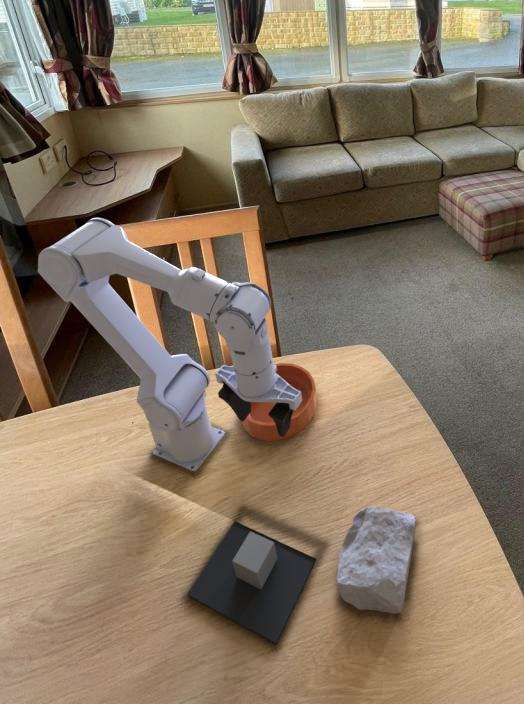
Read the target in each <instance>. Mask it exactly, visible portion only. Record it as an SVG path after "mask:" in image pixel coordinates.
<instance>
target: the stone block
mask: <svg viewBox="0 0 524 704" xmlns="http://www.w3.org/2000/svg"><path fill="white" fill-rule="evenodd" d="M416 521H417V520H416V517H415V516H414V515H413V514H411V513H409V512H408V511H407V512H404V511H401V510H394V509H389V508H385V507H381V506H373V505H371V506H369V505H368V506H365V507H364V508H363V509H359V510H358V511H357V512H356V513H355V514H354V515H353V517H352V523H351V526H350V527H349V528H348V530H347V532H346V535H345V537H344V539H343V542H342V546H341V548H340V551H339V555H338V565H337V574H336V590H337V591H338V593H339V595H340V597H341V598H342V600H343V601H344V602H345V603H348V604H350V605H351V606H353V607H355V609H358V610H359V611H360V610H362V611H364V610H368V611H378V612H381V613H389V614H401V612H403V610H404V604H405V597H406V591H407V585H408V579H409V572H410V567H411V561H412V552H413V547H414V541H415V536H416V527H417V522H416Z"/></svg>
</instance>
